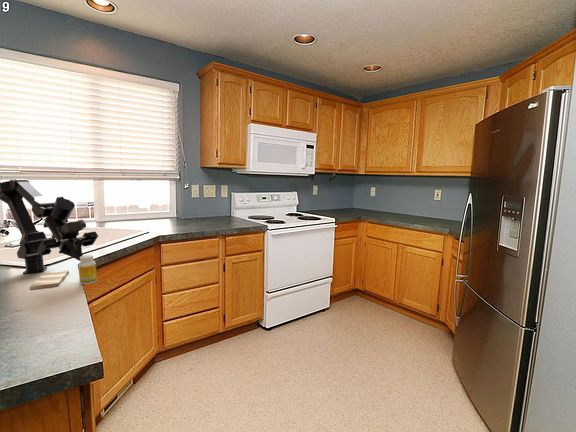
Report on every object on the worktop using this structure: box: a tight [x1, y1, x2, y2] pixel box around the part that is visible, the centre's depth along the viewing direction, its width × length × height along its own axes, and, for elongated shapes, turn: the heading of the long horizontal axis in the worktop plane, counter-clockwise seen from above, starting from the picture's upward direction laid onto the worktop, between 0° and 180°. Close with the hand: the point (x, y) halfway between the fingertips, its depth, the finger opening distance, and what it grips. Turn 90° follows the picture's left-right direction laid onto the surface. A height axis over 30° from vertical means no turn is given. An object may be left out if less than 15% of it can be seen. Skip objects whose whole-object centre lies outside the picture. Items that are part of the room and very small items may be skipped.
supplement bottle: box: [77, 254, 98, 285], centre depth 111 cm, size 5×5×10 cm
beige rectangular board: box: [29, 270, 70, 290], centre depth 114 cm, size 16×8×1 cm, turn 25°
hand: (81, 259), depth 112 cm, fingers closed
